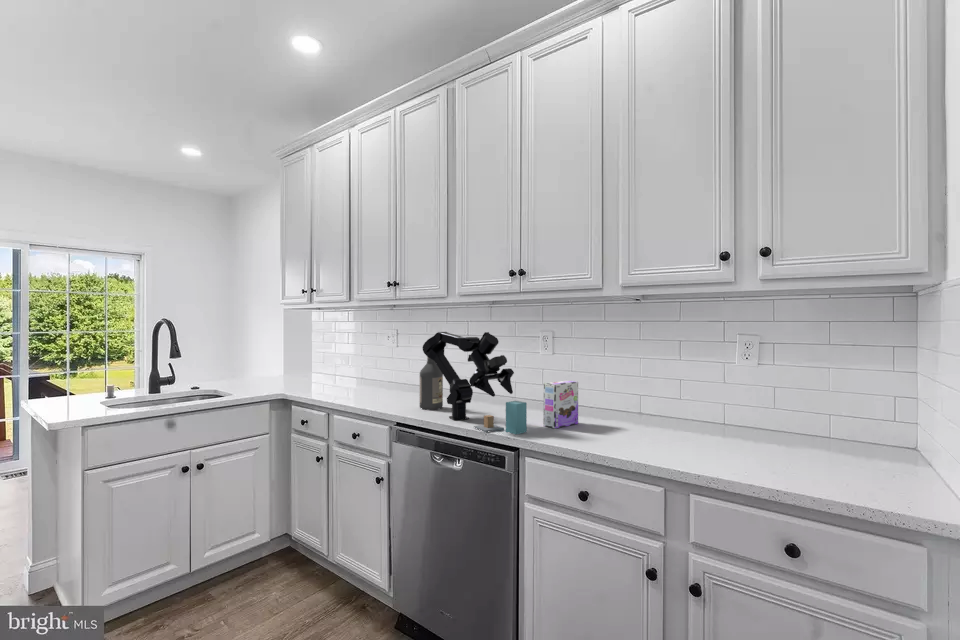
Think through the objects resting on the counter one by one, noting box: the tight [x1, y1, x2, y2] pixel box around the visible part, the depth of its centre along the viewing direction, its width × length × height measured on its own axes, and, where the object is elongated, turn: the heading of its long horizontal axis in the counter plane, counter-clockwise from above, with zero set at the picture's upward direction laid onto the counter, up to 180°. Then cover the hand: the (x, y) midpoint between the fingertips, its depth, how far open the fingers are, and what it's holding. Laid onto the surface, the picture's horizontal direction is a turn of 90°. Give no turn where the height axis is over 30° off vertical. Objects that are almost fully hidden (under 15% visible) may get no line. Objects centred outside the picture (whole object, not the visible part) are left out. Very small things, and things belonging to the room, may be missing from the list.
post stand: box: [473, 414, 505, 433], centre depth 171 cm, size 8×8×5 cm
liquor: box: [419, 356, 444, 411], centre depth 214 cm, size 9×9×30 cm
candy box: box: [542, 380, 579, 430], centre depth 178 cm, size 14×6×16 cm, turn 129°
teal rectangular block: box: [505, 400, 528, 435], centre depth 167 cm, size 5×5×10 cm
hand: (503, 394), depth 172 cm, fingers open, 9 cm apart
